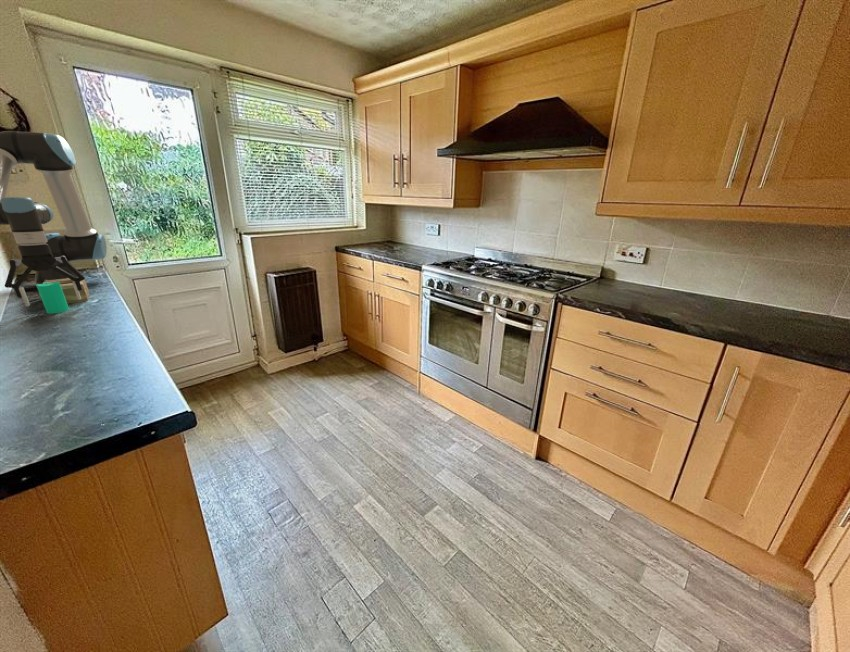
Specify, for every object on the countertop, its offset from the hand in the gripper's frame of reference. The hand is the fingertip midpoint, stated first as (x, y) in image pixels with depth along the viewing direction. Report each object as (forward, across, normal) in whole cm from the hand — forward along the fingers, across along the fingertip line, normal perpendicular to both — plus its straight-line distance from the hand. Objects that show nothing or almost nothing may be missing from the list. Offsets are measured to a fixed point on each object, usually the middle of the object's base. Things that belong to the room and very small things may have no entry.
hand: (54, 302), depth 129 cm
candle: (+4, 0, 0) cm, 4 cm away
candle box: (+3, +2, +18) cm, 19 cm away
